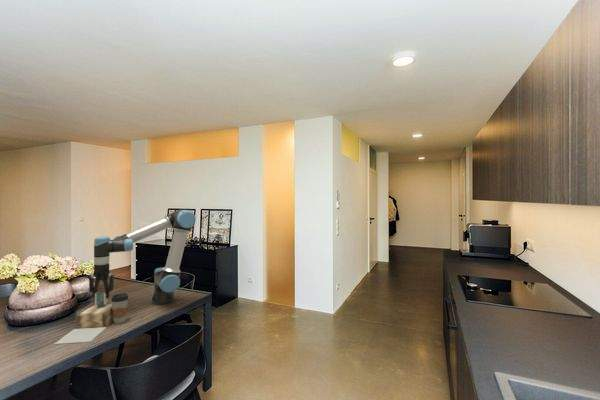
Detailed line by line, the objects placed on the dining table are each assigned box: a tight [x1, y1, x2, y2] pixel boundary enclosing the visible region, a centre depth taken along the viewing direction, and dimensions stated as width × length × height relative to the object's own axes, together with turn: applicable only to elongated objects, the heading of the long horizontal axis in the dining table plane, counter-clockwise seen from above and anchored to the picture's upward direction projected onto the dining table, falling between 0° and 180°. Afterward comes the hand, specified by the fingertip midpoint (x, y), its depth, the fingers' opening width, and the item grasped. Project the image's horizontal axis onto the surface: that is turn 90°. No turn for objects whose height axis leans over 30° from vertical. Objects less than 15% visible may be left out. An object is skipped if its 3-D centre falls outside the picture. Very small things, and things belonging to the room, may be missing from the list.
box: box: [75, 301, 114, 329], centre depth 164 cm, size 15×16×8 cm
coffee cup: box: [110, 293, 129, 325], centre depth 165 cm, size 8×8×15 cm
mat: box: [53, 326, 108, 345], centre depth 148 cm, size 16×16×1 cm
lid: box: [80, 291, 112, 316], centre depth 164 cm, size 12×14×9 cm
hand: (101, 303), depth 167 cm, fingers closed on lid, 4 cm apart
